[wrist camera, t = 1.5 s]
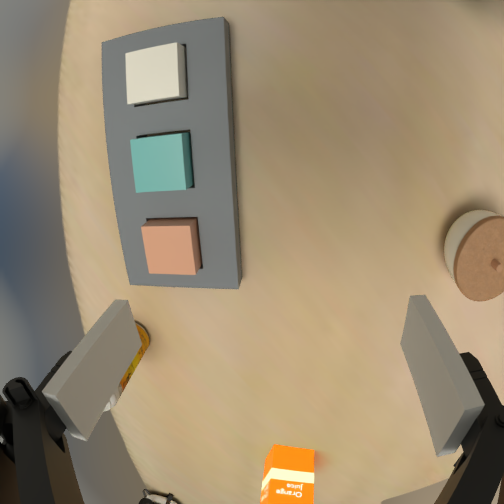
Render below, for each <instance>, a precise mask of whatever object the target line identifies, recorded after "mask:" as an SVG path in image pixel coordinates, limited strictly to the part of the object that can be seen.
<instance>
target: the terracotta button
mask: <svg viewBox="0 0 504 504" xmlns="http://www.w3.org/2000/svg"><path fill="white" fill-rule="evenodd" d="M141 230H142V236H143V242H144V248H145V254H146V259H147V265H148V270H149V273H150V274H180V275H196V274H197V272H198V270H199V269H200V267H201V265H202V257H201V248H200V239H199V229H198V220H197V217H191V218H152V219H150V220H149V221H147V222H146V223H145V224H144V225H142V226H141Z"/></svg>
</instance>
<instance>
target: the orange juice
mask: <svg viewBox="0 0 504 504" xmlns="http://www.w3.org/2000/svg"><path fill="white" fill-rule="evenodd" d="M313 495H314V450H310V449H302V448H295V447H288V446H281V445H275V444H274V446H273V447H272V449H271V451H270V453H269V455H268V456H267V458H266V460H265V469H264V477H263V483H262V493H261V500H260V504H313Z"/></svg>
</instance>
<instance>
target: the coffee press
mask: <svg viewBox="0 0 504 504" xmlns="http://www.w3.org/2000/svg"><path fill="white" fill-rule="evenodd" d="M144 490H146V491H147V493H148V494H149V495H147V496H146V495H145V492H144ZM144 490H143V494H144V498H143V499H141V500H140V502H139V504H177V503H176V502H174V501H173V500H172V498H173V495H172V494H170V493H169V494H168V496H167V497H163V496H159V495H153V494H150V493H149V491H148V490H147V489H144Z"/></svg>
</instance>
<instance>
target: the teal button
mask: <svg viewBox="0 0 504 504" xmlns="http://www.w3.org/2000/svg"><path fill="white" fill-rule="evenodd" d="M130 144H131V154H132V164H133V173H134V181H135V189H136V193H140V192H155V191H173V190H187V189H188V188H189V187H191V186H192V185H194V176H193V164H192V151H191V137H190V132H185V133H175V134H166V135H157V136H149V137H142V138H137V139H132V140H130Z"/></svg>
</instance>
